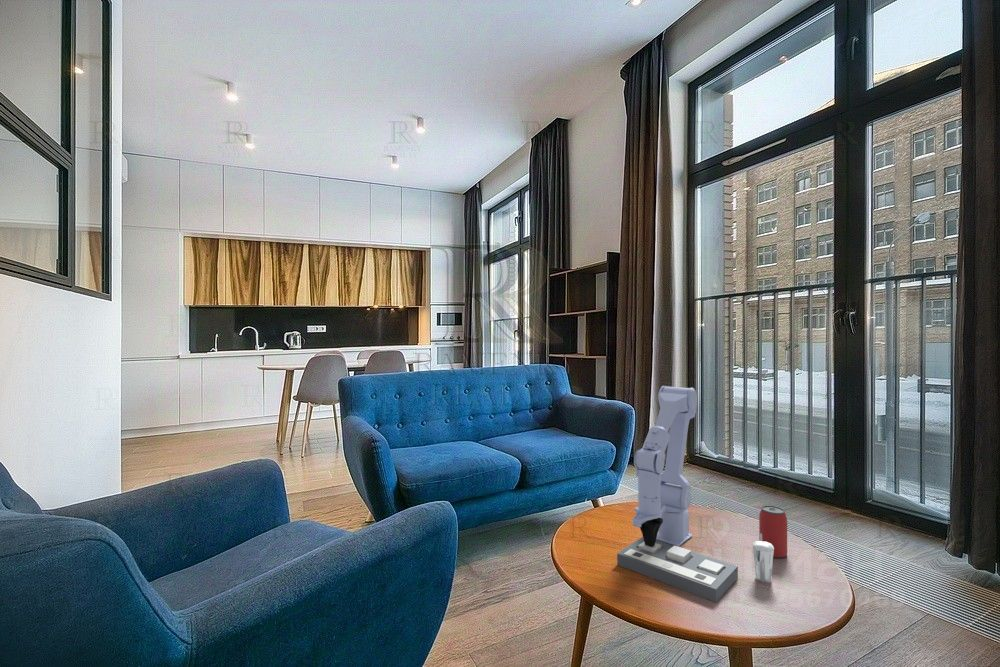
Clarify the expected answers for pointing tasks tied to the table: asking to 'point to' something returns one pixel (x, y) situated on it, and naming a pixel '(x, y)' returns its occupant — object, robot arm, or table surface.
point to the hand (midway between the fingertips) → (649, 545)
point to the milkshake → (763, 560)
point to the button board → (679, 570)
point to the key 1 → (650, 549)
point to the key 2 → (711, 567)
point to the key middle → (679, 554)
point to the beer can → (774, 529)
